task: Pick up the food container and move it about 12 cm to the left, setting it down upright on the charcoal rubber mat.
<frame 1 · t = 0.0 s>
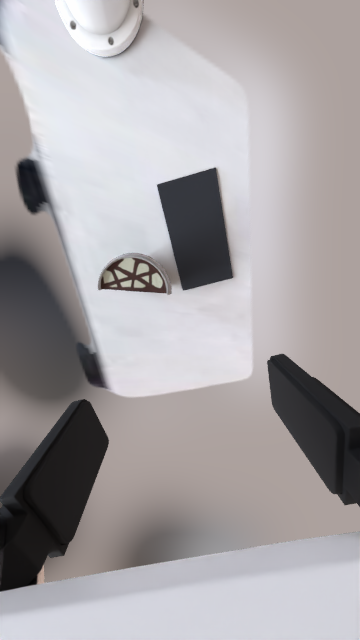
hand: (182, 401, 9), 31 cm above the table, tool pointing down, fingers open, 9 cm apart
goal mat: (197, 235, 35), on the table
food container: (144, 270, 37), on the table
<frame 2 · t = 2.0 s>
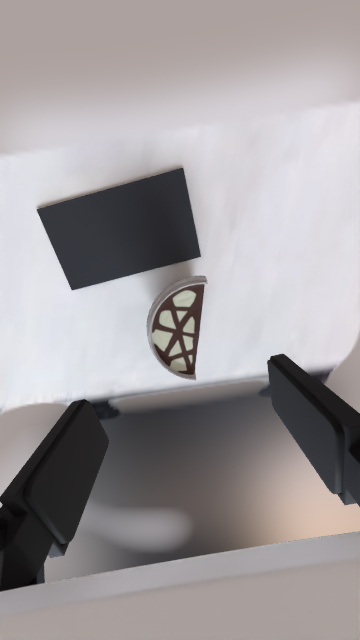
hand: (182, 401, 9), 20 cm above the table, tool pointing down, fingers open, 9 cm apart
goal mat: (123, 234, 25), on the table
food container: (173, 310, 28), on the table
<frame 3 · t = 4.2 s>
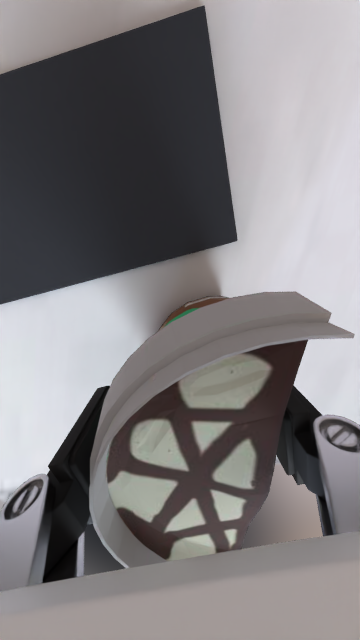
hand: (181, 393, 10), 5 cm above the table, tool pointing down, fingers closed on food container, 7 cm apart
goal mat: (66, 190, 11), on the table
food container: (177, 348, 15), on the table, touching gripper
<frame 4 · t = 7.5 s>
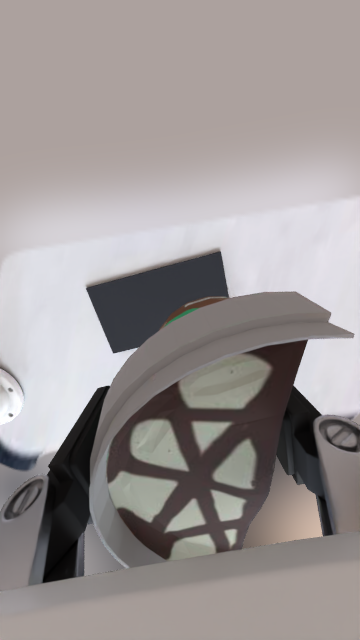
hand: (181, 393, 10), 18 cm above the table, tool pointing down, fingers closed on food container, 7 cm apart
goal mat: (162, 306, 27), on the table
food container: (177, 348, 15), point 13 cm above the table, touching gripper
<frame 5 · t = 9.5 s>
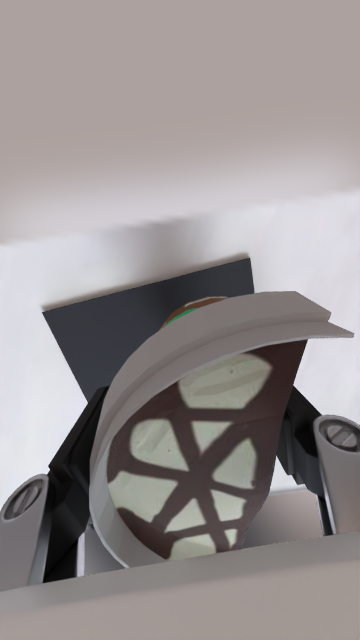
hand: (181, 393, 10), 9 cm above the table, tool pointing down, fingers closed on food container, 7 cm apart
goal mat: (159, 338, 18), on the table
food container: (177, 348, 15), point 3 cm above the table, touching gripper
when the fingers open (6 cm above the table, at t = 11.0 s): food container stays where it is, resting on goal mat.
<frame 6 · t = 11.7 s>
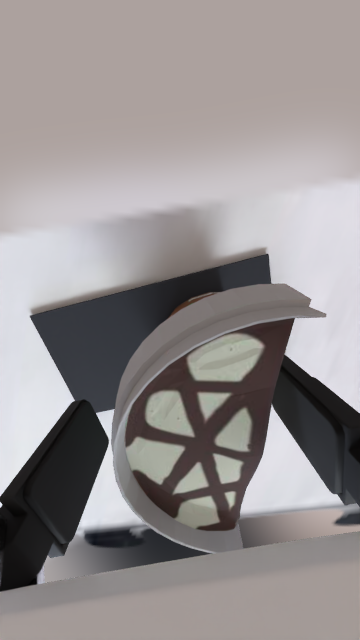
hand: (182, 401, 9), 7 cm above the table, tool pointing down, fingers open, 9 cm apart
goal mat: (162, 345, 16), on the table
food container: (181, 341, 16), resting on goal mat
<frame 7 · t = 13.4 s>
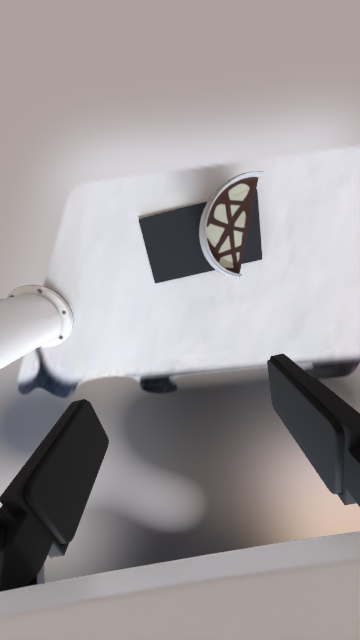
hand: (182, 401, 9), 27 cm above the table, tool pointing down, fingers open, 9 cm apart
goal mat: (202, 239, 31), on the table
food container: (212, 237, 31), resting on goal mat
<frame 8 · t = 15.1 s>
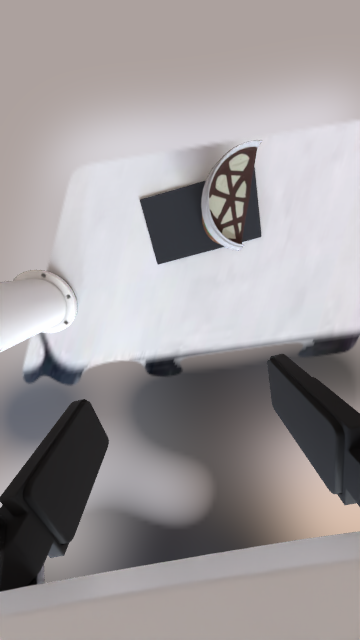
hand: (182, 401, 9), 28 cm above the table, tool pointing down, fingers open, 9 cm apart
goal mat: (202, 219, 32), on the table
food container: (212, 216, 31), resting on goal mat
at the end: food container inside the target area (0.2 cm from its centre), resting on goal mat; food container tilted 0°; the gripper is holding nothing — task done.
